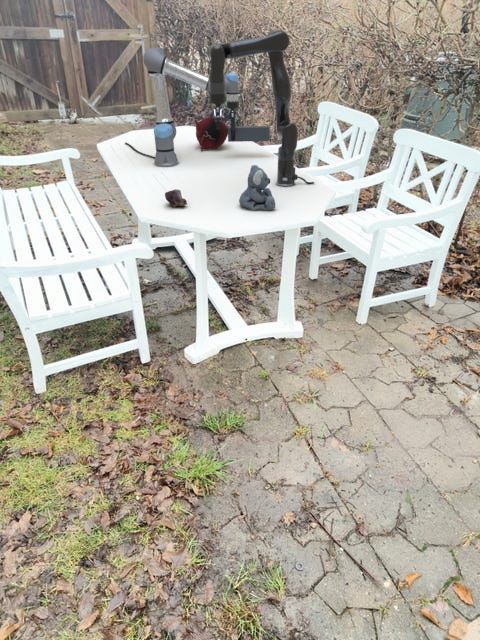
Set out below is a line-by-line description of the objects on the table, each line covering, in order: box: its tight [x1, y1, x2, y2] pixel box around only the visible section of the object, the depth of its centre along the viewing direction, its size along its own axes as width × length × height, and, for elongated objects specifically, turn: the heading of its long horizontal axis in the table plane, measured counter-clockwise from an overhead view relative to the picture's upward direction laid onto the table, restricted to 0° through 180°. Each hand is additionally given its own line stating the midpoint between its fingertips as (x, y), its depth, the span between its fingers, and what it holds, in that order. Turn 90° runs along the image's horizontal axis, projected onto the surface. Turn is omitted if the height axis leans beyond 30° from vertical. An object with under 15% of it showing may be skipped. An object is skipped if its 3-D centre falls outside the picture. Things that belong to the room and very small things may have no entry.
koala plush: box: [238, 164, 276, 211], centre depth 224 cm, size 17×18×20 cm
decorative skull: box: [193, 116, 228, 152], centre depth 324 cm, size 21×24×25 cm
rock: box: [164, 188, 188, 207], centre depth 228 cm, size 12×9×10 cm
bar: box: [227, 125, 271, 143], centre depth 297 cm, size 27×5×8 cm, turn 89°
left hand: (233, 139), depth 299 cm, fingers closed on bar, 5 cm apart
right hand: (218, 127), depth 228 cm, fingers open, 8 cm apart
